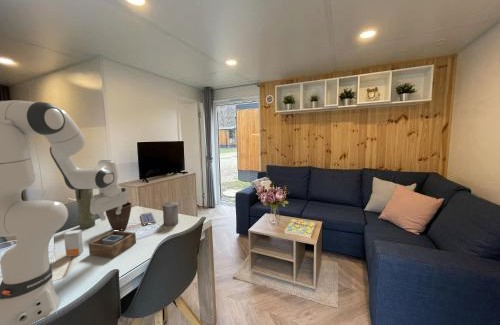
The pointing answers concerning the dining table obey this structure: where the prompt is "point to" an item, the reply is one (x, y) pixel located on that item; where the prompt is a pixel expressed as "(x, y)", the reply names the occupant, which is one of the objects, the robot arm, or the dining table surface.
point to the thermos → (85, 208)
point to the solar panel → (147, 218)
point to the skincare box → (73, 243)
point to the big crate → (112, 251)
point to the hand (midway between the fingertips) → (111, 216)
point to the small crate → (112, 239)
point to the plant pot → (119, 217)
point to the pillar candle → (170, 213)
